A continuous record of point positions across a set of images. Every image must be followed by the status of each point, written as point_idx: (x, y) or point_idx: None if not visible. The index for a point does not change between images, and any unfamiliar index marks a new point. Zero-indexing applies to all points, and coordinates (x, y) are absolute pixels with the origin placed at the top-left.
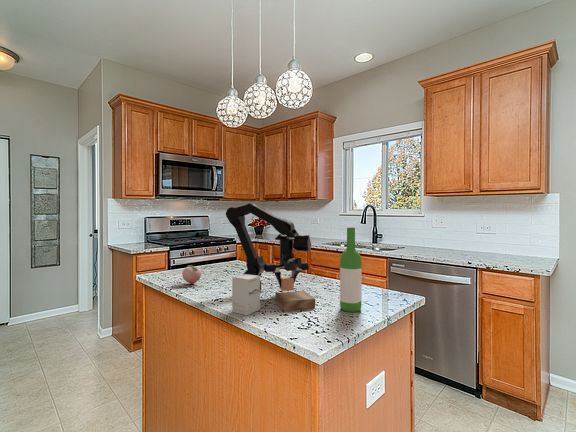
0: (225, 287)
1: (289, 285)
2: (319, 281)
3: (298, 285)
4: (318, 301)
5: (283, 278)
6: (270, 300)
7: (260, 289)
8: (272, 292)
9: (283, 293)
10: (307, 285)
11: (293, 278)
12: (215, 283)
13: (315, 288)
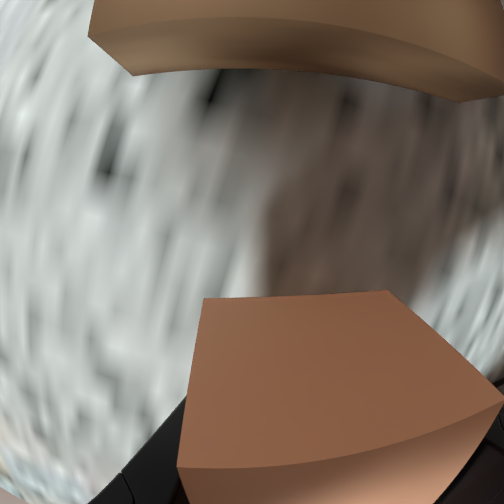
0: None
1: (295, 340)
2: (17, 487)
3: None
4: (42, 10)
5: (444, 463)
6: (483, 169)
7: None
8: None
9: (458, 14)
10: (62, 479)
11: (186, 469)
12: None
13: (4, 412)
